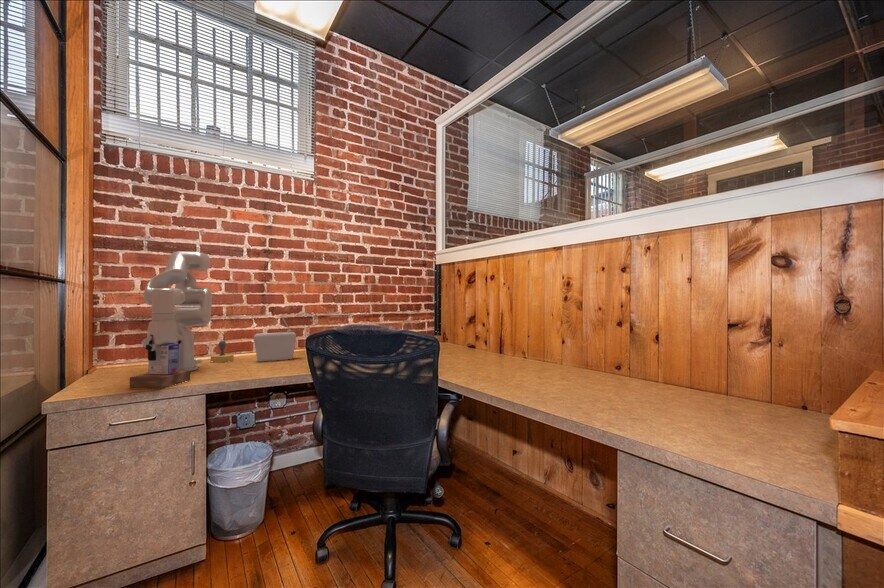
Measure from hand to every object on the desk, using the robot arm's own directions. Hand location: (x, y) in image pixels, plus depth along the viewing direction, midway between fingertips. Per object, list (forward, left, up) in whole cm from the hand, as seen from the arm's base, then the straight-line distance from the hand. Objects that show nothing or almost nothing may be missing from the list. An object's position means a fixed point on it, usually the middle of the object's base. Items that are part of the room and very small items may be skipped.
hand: (163, 358), depth 148 cm
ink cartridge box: (0, 0, -6) cm, 7 cm away
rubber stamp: (-49, -16, -11) cm, 53 cm away
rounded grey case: (-58, +11, -11) cm, 60 cm away
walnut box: (+1, 0, -11) cm, 11 cm away
